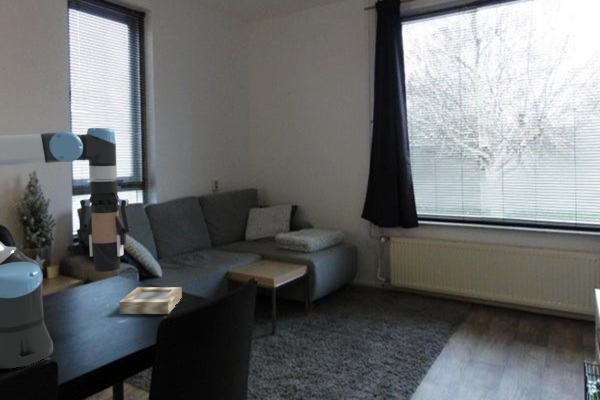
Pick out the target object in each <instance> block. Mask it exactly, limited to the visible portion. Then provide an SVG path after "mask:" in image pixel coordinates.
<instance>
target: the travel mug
mask: <svg viewBox="0 0 600 400" xmlns="http://www.w3.org/2000/svg"><path fill="white" fill-rule="evenodd" d="M90 209H91V210H90V211H91V216H92V242H93V255H94V256H93V264H94V270H95V271H96V272H103V273H105V272H113V271H117V270H119V269H121V256H117V235H118V234H119V232H118V230H117V228H116V220H115V216H118V215H119V213H120V211H119V203H117V204H111V205H92V204H91V203H90ZM91 216H90V217H91ZM119 216H120V215H119Z"/></svg>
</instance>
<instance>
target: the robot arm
mask: <svg viewBox="0 0 600 400" xmlns="http://www.w3.org/2000/svg"><path fill="white" fill-rule="evenodd" d="M86 130H87V131H86V133H85V134H76V133H74V132H72V131H65V130H64V131H63V130H62V131H59V132H47V133H29V134H28V133H27V134H9V135H8V134H7V135H0V168H4V167H5V168H6V167H17V166H25V165H26V166H27V165H37V164H38V165H39V164H50V163H51V164H52V163H62V162H64V163H69V162H74V161H88V169H89V173H88V174H89V180H91V181H90V182H89V192H90V197H89V198H85V199H81V200H79V202H80V203H79V204H80V208H81V209H80V210H81V211H80V221H79V229H78V231H79V233H83V234H85V236H86V238H85V239H86V246H89V257H94V255H93V242H92V216H90V218H89V215H90V214H89V213H90V207H91V204H92V205H111V204H117V203H118V206H119V207H120V213H121V217H120V215H118V216H115V220H116V228H117V230H118V232H119V234H118V235H117V256H120V257H121V256H123V255H124V253H125V252H124V251H125V250H124V245H126V243H127V233H129V232H132V231H133V227H132V222H131V216H130V211H129V199H128V198H127V199H123V198H120V197H119V194H118V192H119V191H118V190H119V189H118V181H117V179H118V176H117V175H118V173H117V172H118V171H117V143H116V134H115V131H114V129H113V128H109V127H89V128H88V129H86ZM43 277H44V274H43V270H42V268H41V266H40V264H39V263H38V262H36V261H35V260H34V259H32V258H30V257H28V256H26V255H25V254H24V253H23V252H22V251H20V250H19V249H18V248H17V247H16V246H6V245H5V244H4V243H3V242H2V241H0V368H16V367H21V368H25V367H29V366H32V365H34V364H33V363H35V364H37V363H39V362H38V361H40V360H42V359H44V360H45V359H47V358H49V357H50V356H51V355H52V354H53V352H54V343H53V340H52V337H51V336H50V333H49V330H48V328H47V326H46V324H45V320H44V319H45V317H44V316H45V315H44V303H43V302H44V300H43V299H44V298H43V282H44V281H43V280H44V279H43ZM42 361H43V360H42ZM36 362H37V363H36ZM40 362H41V361H40ZM31 364H32V365H31ZM22 366H23V367H22ZM24 366H25V367H24Z"/></svg>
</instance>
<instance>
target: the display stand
mask: <svg viewBox="0 0 600 400" xmlns="http://www.w3.org/2000/svg"><path fill="white" fill-rule="evenodd" d="M182 290H183V289H182V287H181V286H180V287H179V286H178V287H173V286H171V287H169V286H166V287H161V286H159V287H157V286H156V287H155V286H154V287H153V286H149V287H148V286H147V287H146V286H145V287H144V286H143V287H142V286H140V287H139V286H137V287H136V288H134V289H133V290H132V291H130V293H128V294H127V295H126V296H125V297H123V298H122V299H121V300H120V301H119V305H118V307H119V314H120V315H125V314H126V315H127V314H129V315H136V314H137V315H158V314H159V315H170V313H171V312H172V310H173V309H174V308H175V307H176V306H177V305H178V304H179V303H180V301H181V300H182V299H183V295H182V293H183V292H182ZM181 298H182V299H181ZM180 299H181V300H180ZM176 304H177V305H176ZM175 305H176V306H175Z"/></svg>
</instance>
